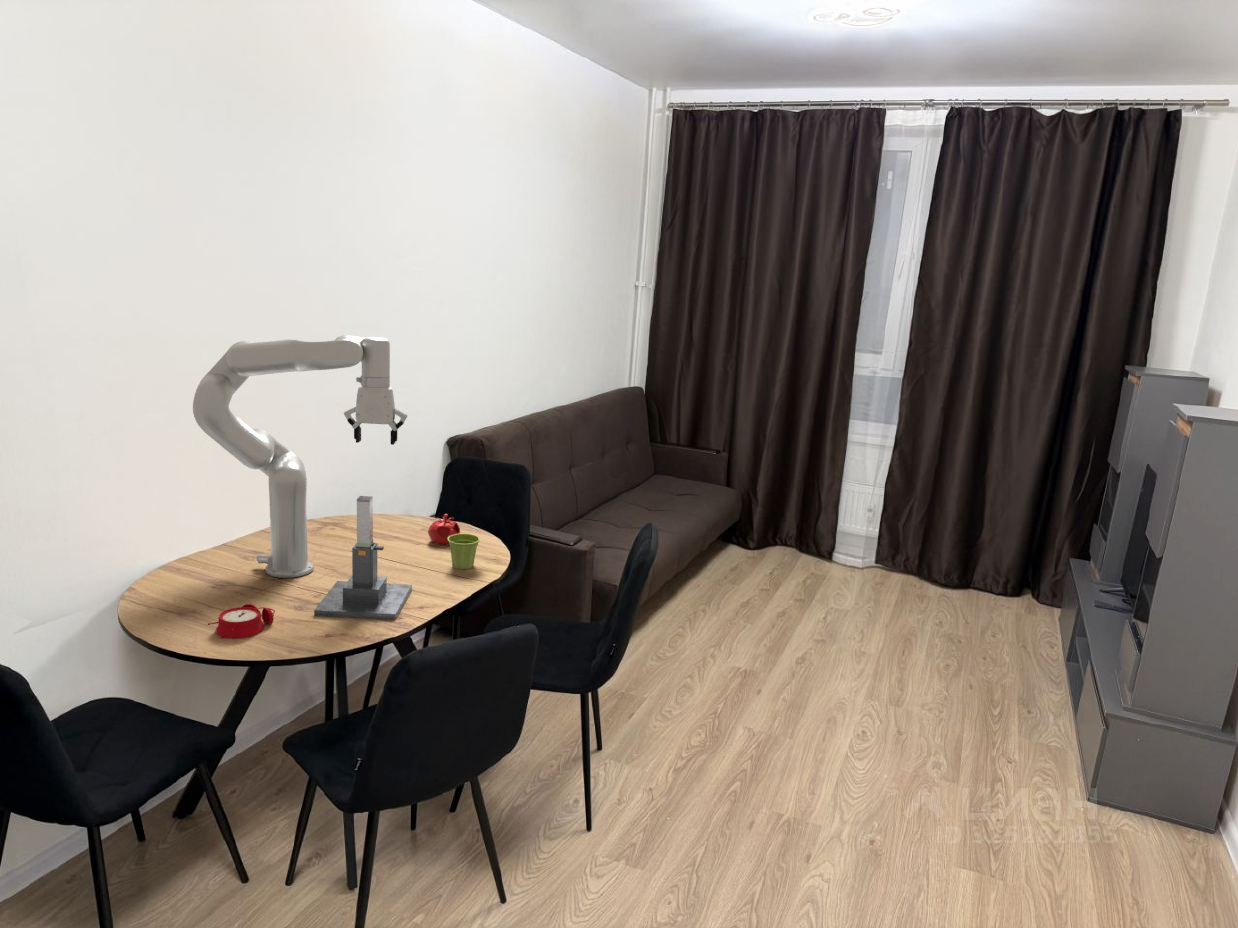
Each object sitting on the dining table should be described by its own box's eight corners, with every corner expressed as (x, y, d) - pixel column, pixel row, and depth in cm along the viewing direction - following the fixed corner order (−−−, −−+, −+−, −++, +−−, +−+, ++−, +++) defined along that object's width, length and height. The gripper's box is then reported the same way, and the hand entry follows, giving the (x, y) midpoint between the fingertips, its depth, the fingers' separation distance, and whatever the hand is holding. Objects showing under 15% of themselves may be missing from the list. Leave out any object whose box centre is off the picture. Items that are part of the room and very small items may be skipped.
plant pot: (485, 565, 256) (486, 537, 254) (467, 574, 247) (467, 545, 245) (459, 558, 259) (459, 531, 257) (440, 567, 251) (440, 539, 249)
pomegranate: (422, 541, 274) (422, 513, 271) (450, 535, 280) (449, 508, 278) (438, 549, 266) (438, 520, 264) (466, 543, 273) (466, 515, 271)
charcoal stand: (314, 615, 213) (313, 556, 209) (337, 586, 232) (336, 531, 229) (395, 619, 214) (395, 560, 210) (411, 589, 233) (412, 535, 230)
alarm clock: (201, 620, 198) (249, 587, 211) (207, 642, 201) (255, 608, 213) (235, 630, 194) (282, 595, 207) (241, 652, 197) (287, 617, 210)
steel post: (356, 561, 219) (356, 499, 215) (360, 557, 222) (359, 495, 218) (370, 562, 219) (369, 500, 215) (373, 558, 222) (373, 496, 218)
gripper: (340, 382, 234) (340, 443, 238) (404, 386, 235) (403, 447, 239) (347, 378, 241) (348, 438, 245) (409, 382, 242) (409, 441, 246)
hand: (375, 442), depth 242 cm, fingers open, 9 cm apart
